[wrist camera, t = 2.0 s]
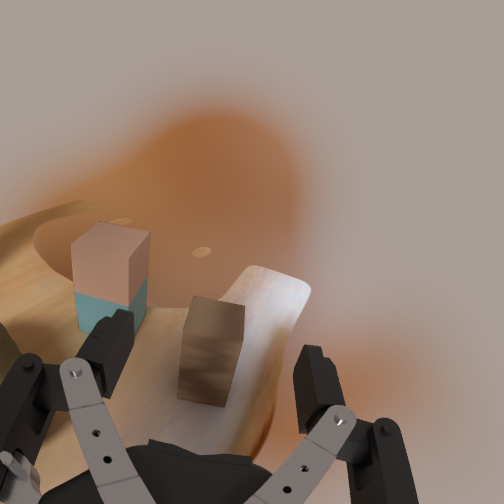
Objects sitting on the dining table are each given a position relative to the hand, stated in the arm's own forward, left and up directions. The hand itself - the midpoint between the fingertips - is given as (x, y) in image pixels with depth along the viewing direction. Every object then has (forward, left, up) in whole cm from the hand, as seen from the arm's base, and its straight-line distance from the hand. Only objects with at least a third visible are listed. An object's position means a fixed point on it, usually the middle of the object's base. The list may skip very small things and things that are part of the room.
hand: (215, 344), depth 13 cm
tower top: (-13, +18, -11) cm, 25 cm away
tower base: (-13, +18, -17) cm, 28 cm away
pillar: (0, +11, -17) cm, 20 cm away
